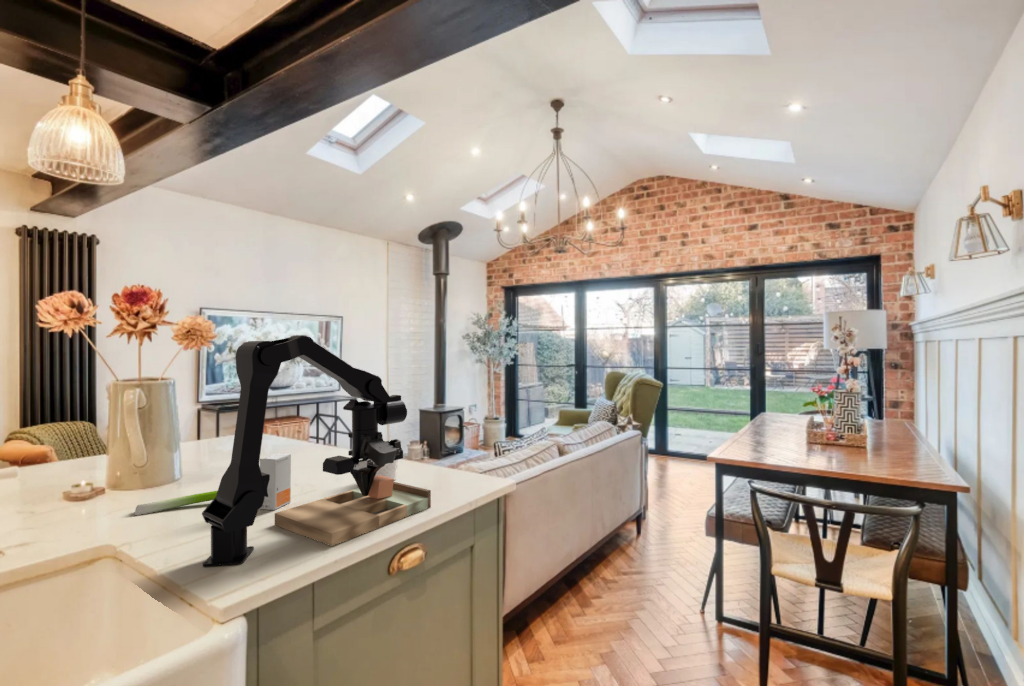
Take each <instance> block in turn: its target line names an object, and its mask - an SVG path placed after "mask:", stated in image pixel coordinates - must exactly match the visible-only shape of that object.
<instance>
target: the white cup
mask: <svg viewBox="0 0 1024 686" xmlns="http://www.w3.org/2000/svg"><path fill="white" fill-rule="evenodd" d="M398 461H399V459H398V460H394V462H393V463H388V464H385V466H384V467H381V468H380V469H379V470H378V471H377V473H376V475H375V476H379V475H382V476H385V477H389V478H392V479H394V481H396V480H397V476H398V475H397V473H398V472H397V470H398Z"/></svg>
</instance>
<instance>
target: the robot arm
mask: <svg viewBox="0 0 1024 686" xmlns="http://www.w3.org/2000/svg"><path fill="white" fill-rule="evenodd" d="M297 358H300V360H302V361H304V362H306V363H308V364H310V365H311V366H313V367H314V368H316V369H318V370H319V371H321V372H323V373H324V374H326V375H327V376H329V377H330V378H332V379H334V380H335V381H337V382H338V383H339V385H340V386H341V388H342V389H343V390H344V391H345V392H346V393H347V395H349V396H351V397H352V398H355V399H349V401H348V402H347V403H346V404H345V405H344V406H343V407H342V409H343V410H344V411H350V412H351V432H348V435H347V436H348V438H351V450H348V456H351V457H347V456H343V455H336V456H331V457H327V458H325V459H324V461H323V462H322V472H325V473H329V474H331V475H332V474H333V475H336V476H338V475H346V474H349V473H350V474H351V476H352V478H353V479H354V481H355V484H357V488H359V489H360V491H361V493H362V495H363V496H368V494H369V491H370V488H371V485H372V483H373V480H374V477H375V475H376V473H377V471H378V470H379V469H380V468H381V467H384V466H385V464H388V463H393V462H394V460H398V461H399V460H403V459H404V450H403V448H402V442H401V440H400V439H398V438H394V439H391V440H390V441H389V440H387V441H385V440H384V439H383V433H382V432H381V431H379V426H388V425H391V424H397V423H403V422H404V421H405V420H406V418H407V416H408V408H407V405H406V404H405V402H404V401H403V400H402V395H400V394H392V395H389V393H388V391H387V390H386V388H385V387H384V386H383V384H382V382H383V380H382V378H381V377H380V376H379V375H377V374H375V373H372V372H370V371H368V370H363V369H361V368H357V367H355V366H352V365H351V364H349V363H348V362H347V361H345V360H343V359H342V358H340V357H339V356H337V355H336V354H334V353H333V352H331V351H329V350H328V349H326V348H325V347H324V346H322V345H321V344H319V343H317V342H316V341H314V339H312V338H311V336H309V335H307V334H306V335H303V334H302V335H301V334H300V335H298V334H297V335H291V336H290V337H284V338H280V339H275V340H271V341H270V340H248V341H246V342H243V343H242V344H241V345H240V346H238V348H236V352H235V366H236V367H235V371H236V375H237V378H238V381H239V384H240V394H239V401H238V407H237V415H236V422H235V430H234V436H233V437H234V439H233V445H232V452H231V460H230V463H229V465H228V467H227V469H226V470H225V472H224V473H223V475H222V477H221V479H220V482H219V486H218V488H217V490H216V491H217V495H216V497H215V499H214V500H211V502H210V503H209V504H208V505H207V507H206V508H205V509H204V510H203V511H202V513H201V515H202V518H203V520H204V522H205V523H206V524H210V525H211V526H210V556H208V557H207V559H206V560H205V561H203V563H202V567H215V566H228V565H237V564H238V565H240V564H243V563H244V562H245V560H247V558H248V557H249V556H250V555H251V553H252V552H253V551H254V549H255V547H254V546H252V545H251V546H248V527H251V526H254V523H255V520H256V518H257V514H258V511H259V510H260V508H261V507H262V505H263V503H264V499H265V497H268V493H267V487H268V483H269V480H270V475H269V474H266V473H263V472H261V470H260V459H261V453H262V452H261V451H262V444H263V435H264V428H265V420H266V413H267V406H268V397H269V389H270V388H271V386H272V384H273V383H274V381H275V380H276V378H277V376H278V374H279V372H280V371H279V370H280V368H281V364H282V363H284V362H288V361H292V360H294V359H297ZM357 399H361V400H363V401H358V400H357ZM371 402H373V403H371Z"/></svg>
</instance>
